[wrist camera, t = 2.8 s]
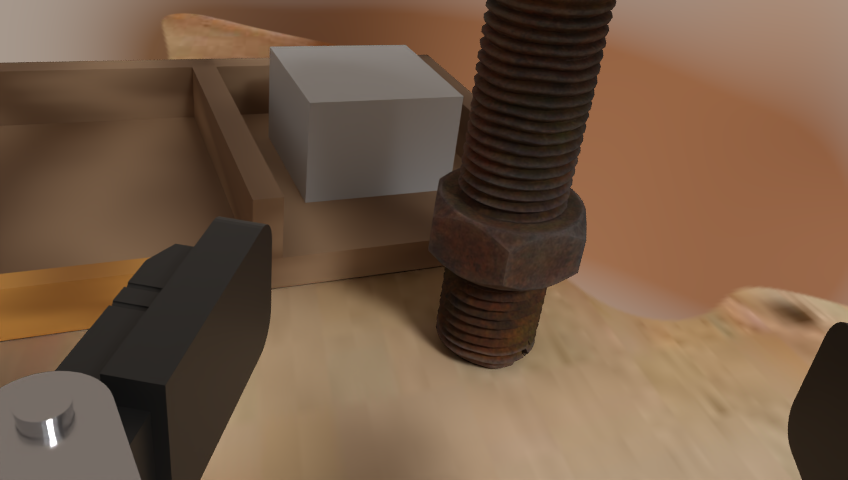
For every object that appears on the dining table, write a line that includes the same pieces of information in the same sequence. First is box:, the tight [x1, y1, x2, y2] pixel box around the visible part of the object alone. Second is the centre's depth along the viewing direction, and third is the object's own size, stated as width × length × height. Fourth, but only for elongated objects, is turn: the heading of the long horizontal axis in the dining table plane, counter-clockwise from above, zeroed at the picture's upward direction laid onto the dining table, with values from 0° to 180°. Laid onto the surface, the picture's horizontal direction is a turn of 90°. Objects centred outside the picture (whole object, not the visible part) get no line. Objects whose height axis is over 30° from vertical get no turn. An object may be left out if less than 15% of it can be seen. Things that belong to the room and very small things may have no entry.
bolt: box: [428, 0, 616, 369], centre depth 22 cm, size 6×5×15 cm
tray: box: [0, 55, 473, 341], centre depth 30 cm, size 22×14×4 cm, turn 112°
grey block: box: [268, 45, 464, 203], centre depth 32 cm, size 6×6×4 cm
